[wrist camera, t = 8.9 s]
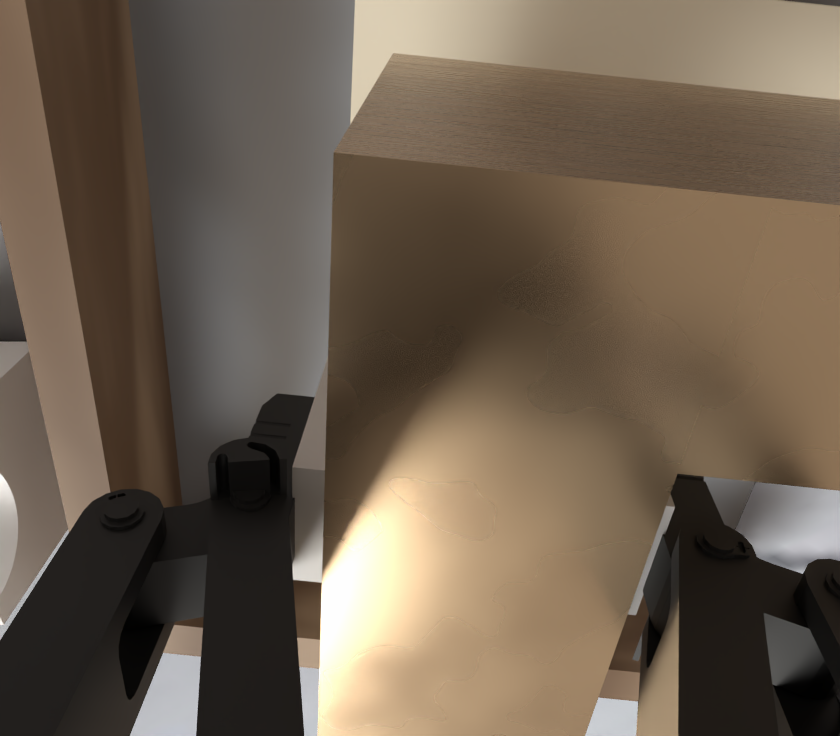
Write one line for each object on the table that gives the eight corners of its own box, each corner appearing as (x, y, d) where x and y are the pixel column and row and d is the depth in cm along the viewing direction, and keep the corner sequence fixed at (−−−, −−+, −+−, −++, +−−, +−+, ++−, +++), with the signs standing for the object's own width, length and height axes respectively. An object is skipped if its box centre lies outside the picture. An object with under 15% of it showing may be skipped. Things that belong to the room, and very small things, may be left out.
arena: (154, 529, 31) (94, 645, 26) (62, -142, 19) (-87, -171, 14) (702, 585, 31) (749, 712, 26) (967, -47, 19) (1154, -40, 14)
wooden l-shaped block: (393, 52, 15) (333, 152, 8) (919, 107, 15) (1302, 254, 8) (361, 542, 22) (315, 813, 15) (715, 579, 22) (828, 865, 15)
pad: (339, 457, 28) (336, 466, 27) (359, -45, 19) (356, -44, 19) (697, 494, 28) (701, 504, 28) (879, 10, 19) (891, 12, 19)
